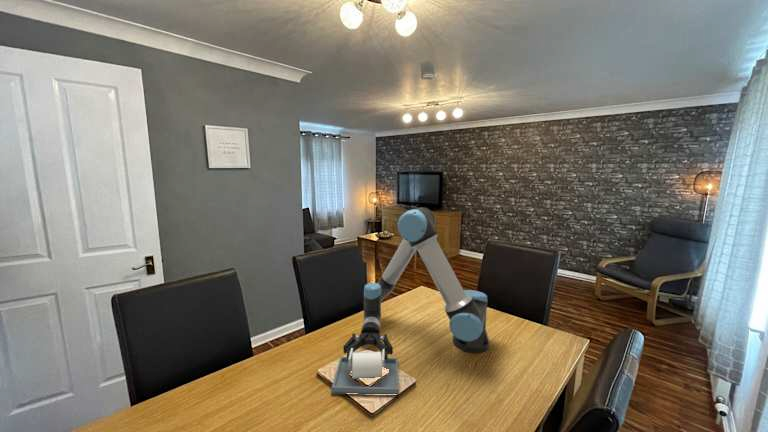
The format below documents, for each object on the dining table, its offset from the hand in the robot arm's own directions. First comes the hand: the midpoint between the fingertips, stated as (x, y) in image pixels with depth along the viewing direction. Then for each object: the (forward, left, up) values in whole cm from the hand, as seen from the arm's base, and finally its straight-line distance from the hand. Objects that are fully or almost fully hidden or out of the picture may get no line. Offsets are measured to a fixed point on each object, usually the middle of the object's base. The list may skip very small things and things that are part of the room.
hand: (366, 363), depth 102 cm
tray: (0, -4, -8) cm, 9 cm away
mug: (0, -4, -6) cm, 7 cm away
